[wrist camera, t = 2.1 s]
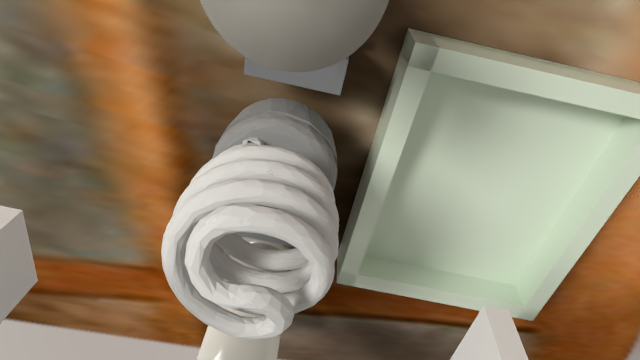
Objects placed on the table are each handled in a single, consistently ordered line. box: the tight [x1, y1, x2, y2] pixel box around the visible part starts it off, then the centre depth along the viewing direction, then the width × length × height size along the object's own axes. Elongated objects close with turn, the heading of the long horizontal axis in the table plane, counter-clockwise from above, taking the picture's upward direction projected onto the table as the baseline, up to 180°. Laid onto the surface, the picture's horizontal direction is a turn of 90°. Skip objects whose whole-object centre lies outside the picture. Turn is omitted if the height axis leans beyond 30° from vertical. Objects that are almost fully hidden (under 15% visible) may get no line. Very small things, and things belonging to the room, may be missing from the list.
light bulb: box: [161, 98, 339, 340], centre depth 17 cm, size 6×6×12 cm
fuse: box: [197, 236, 294, 360], centre depth 21 cm, size 4×4×10 cm
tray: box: [337, 28, 640, 321], centre depth 22 cm, size 12×14×2 cm
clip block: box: [223, 56, 349, 293], centre depth 20 cm, size 5×27×4 cm, turn 168°
